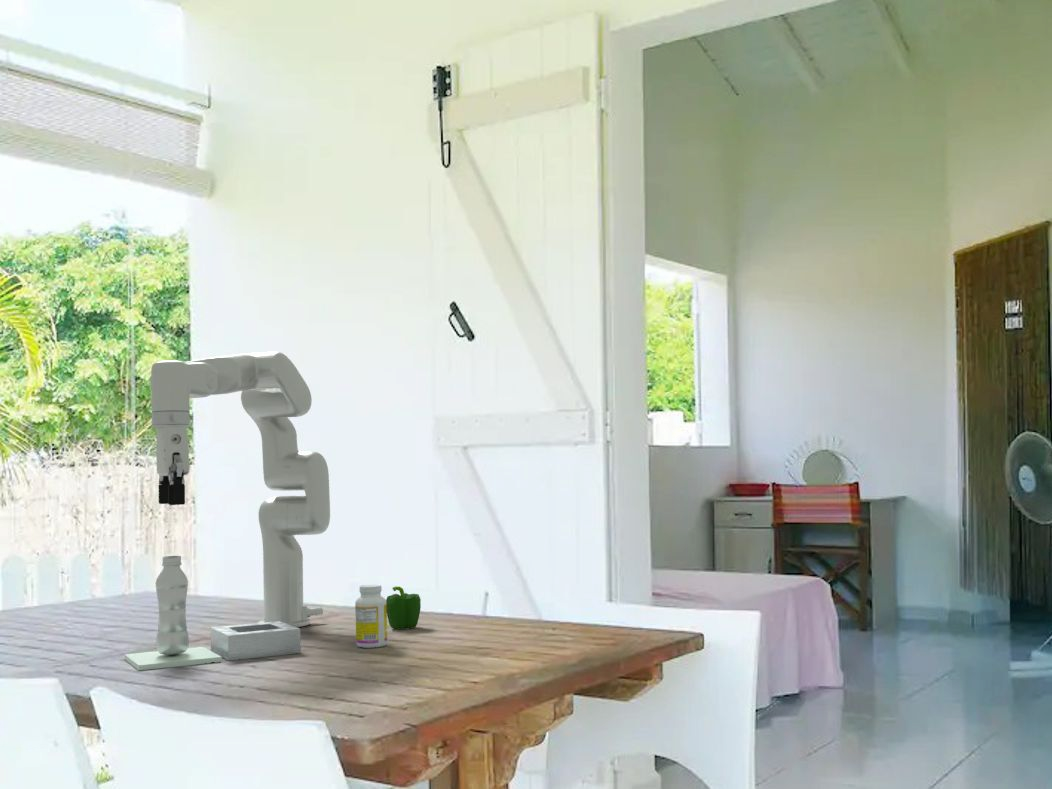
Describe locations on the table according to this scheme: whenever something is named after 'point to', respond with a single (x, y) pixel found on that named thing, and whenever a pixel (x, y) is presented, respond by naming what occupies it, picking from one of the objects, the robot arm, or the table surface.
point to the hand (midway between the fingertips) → (171, 504)
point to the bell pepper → (403, 609)
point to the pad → (172, 659)
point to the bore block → (255, 640)
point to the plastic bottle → (172, 608)
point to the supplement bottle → (371, 617)
